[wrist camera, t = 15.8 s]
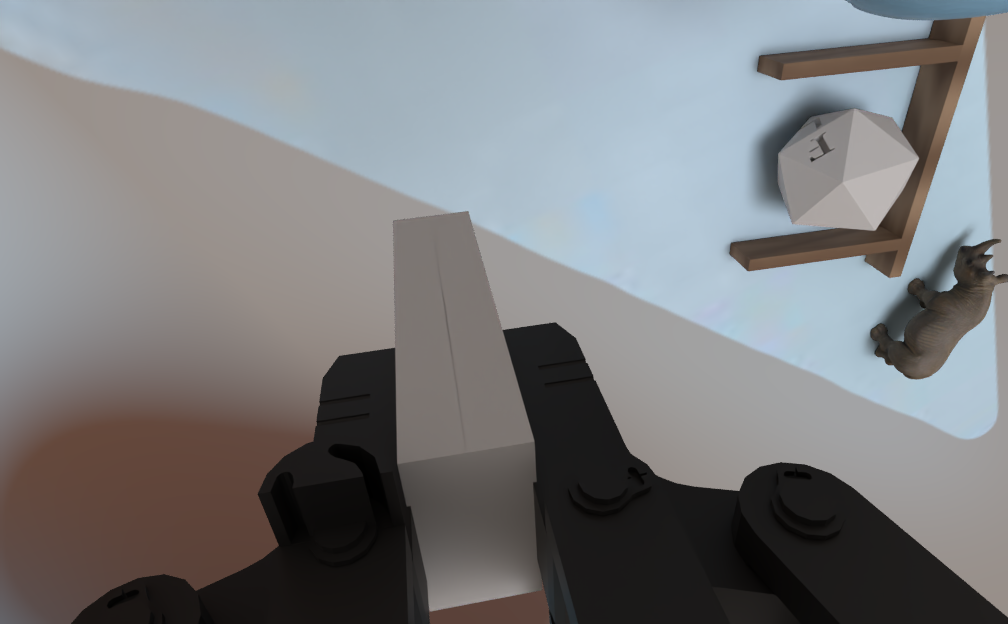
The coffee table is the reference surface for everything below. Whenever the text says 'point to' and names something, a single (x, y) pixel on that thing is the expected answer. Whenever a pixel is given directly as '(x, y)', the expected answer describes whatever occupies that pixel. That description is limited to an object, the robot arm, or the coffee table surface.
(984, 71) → the coffee table surface
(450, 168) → the coffee table surface
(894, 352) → the rhino figurine
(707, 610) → the robot arm
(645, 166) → the coffee table surface
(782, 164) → the die
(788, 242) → the frame
